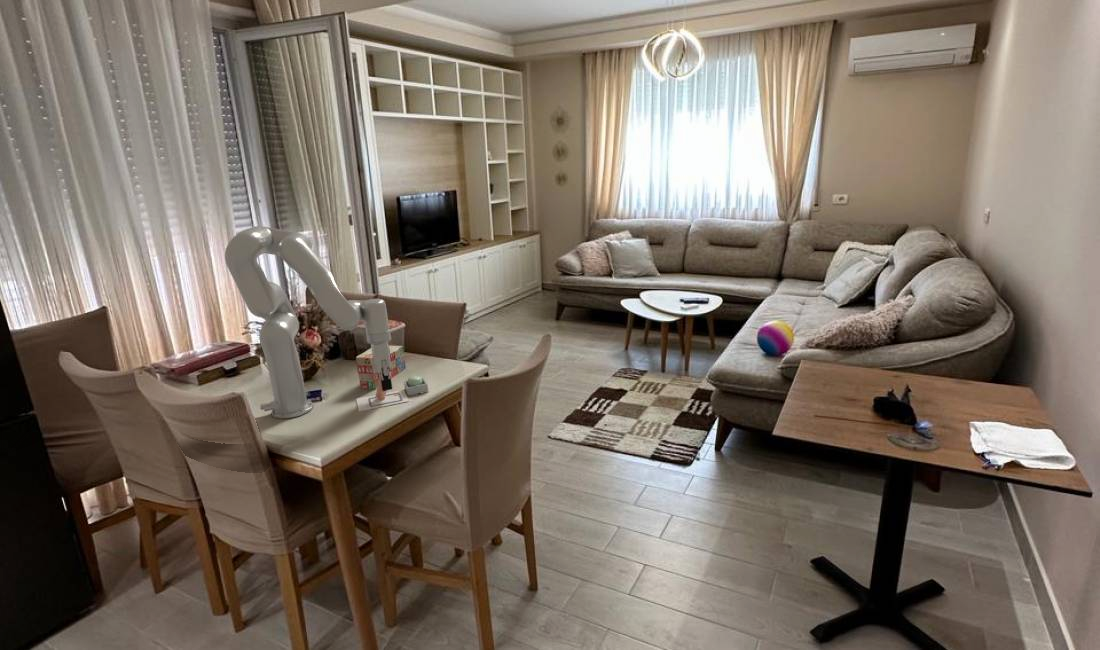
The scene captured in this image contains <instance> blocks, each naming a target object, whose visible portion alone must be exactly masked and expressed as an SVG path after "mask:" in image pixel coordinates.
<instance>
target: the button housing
mask: <svg viewBox="0 0 1100 650" xmlns="http://www.w3.org/2000/svg"><path fill="white" fill-rule="evenodd" d="M422 382H423V384H422V385H417V386H412V387H409V384H408V379H407V380H404V381H403V385H404V391H405V394H406V396H407V397H411V396H415V395H414V394H416V395H419V394H418V393H421V394H423V393H422V392H426V393H428V392H429V386H428V382H427V381H426V379H425V377H422ZM427 391H428V392H427ZM410 395H411V396H410Z"/></svg>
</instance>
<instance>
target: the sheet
mask: <svg viewBox="0 0 1100 650" xmlns="http://www.w3.org/2000/svg"><path fill="white" fill-rule="evenodd" d="M375 396H376V394H374V395H369V396H364V397H359V398H356V399H355V400H356V405H357V409H358V412H365V411H369V410H375V409H380V408H384V407H390V406H394V404H395V405H400V404H404V402H405V403H408V402H409V398H408V395H407V393H406V391H405V389H400V390H394V391H389V392H386V396H385V399H378V398H376V397H375ZM399 403H400V404H399ZM409 403H410V402H409Z"/></svg>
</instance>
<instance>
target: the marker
mask: <svg viewBox="0 0 1100 650" xmlns="http://www.w3.org/2000/svg"><path fill="white" fill-rule="evenodd" d="M392 367H393V366H392V365H391V370H390V371H389V373H390V374H391V371H392ZM382 370H383V369H382ZM383 374H384V373H383ZM381 380H382V378H381V374H380V379H379V383H378V387H377V389H376V393H375V395H376V396H375V397H376V398H378V399H385V396H386V393H388V392H387V391H388V390H386V391H383V390H382V384H381Z"/></svg>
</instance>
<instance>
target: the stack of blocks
mask: <svg viewBox="0 0 1100 650" xmlns="http://www.w3.org/2000/svg"><path fill="white" fill-rule="evenodd" d="M388 347H389V353H390V361H391V365H392V366H393V367H392V371H391V374H390V378H391V379H392V378H395V376H397V375H398V374H399V373H401V372H402V371H404V370H405V369H406V360H405V354H404V347H403V345H388ZM355 360H356V369H357V373H358V379H359V385H360V389H363V390H364V389H365V390H377V387H378V383H379V379H380V373H377V372H376V370H375V368H374V364H373V356H372V350H371V348H369V349H367V350H366V351H364V352H363V353H361V354H359V355H357V356H356V357H355Z"/></svg>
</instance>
